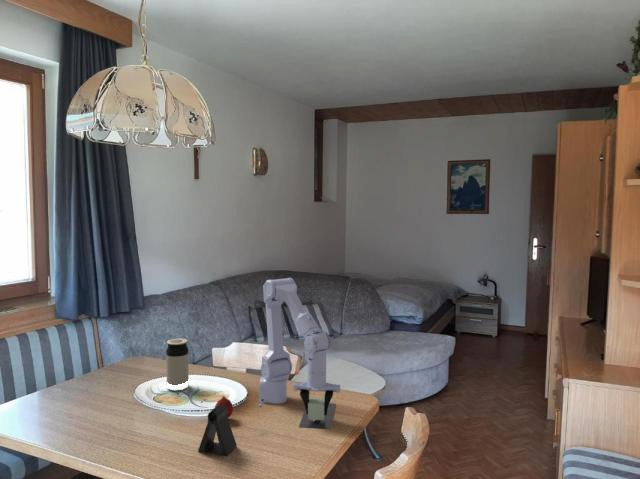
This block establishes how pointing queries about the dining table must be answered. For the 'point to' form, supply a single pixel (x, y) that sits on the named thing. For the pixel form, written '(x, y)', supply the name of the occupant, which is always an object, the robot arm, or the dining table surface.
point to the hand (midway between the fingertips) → (316, 413)
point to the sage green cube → (316, 408)
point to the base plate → (323, 422)
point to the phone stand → (218, 433)
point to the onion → (227, 404)
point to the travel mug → (177, 361)
